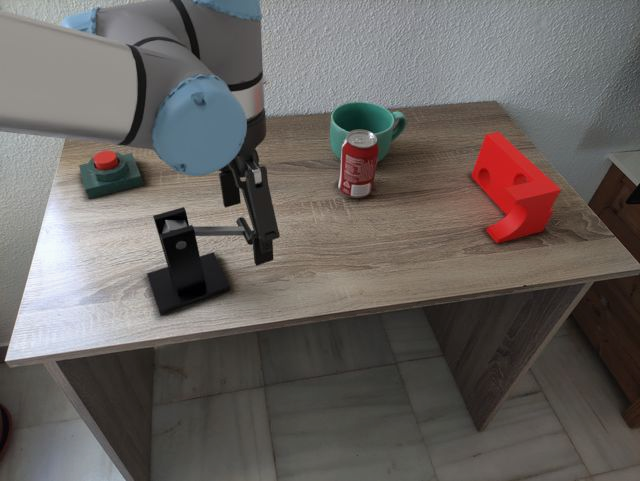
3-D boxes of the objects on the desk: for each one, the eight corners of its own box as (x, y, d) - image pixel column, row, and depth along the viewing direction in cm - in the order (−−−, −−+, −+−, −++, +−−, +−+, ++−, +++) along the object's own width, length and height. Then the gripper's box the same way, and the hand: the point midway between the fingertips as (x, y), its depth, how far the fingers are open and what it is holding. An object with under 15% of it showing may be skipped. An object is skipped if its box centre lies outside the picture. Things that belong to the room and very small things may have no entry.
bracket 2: (566, 188, 79) (516, 200, 76) (542, 231, 87) (496, 243, 84) (502, 130, 91) (458, 139, 88) (486, 173, 98) (444, 182, 95)
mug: (339, 178, 94) (343, 139, 88) (320, 143, 103) (323, 104, 96) (413, 166, 98) (423, 127, 92) (390, 133, 107) (397, 95, 100)
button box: (88, 198, 87) (81, 181, 84) (82, 174, 92) (75, 157, 89) (143, 184, 91) (138, 168, 88) (134, 161, 95) (129, 145, 92)
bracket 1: (214, 256, 79) (203, 194, 69) (230, 291, 74) (221, 229, 64) (148, 278, 75) (126, 215, 65) (160, 315, 70) (138, 254, 60)
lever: (242, 226, 75) (246, 214, 73) (254, 247, 72) (258, 235, 70) (159, 226, 67) (162, 213, 66) (168, 250, 64) (172, 236, 63)
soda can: (373, 201, 90) (381, 150, 81) (338, 200, 90) (343, 148, 81) (371, 179, 95) (379, 128, 86) (337, 177, 95) (342, 126, 86)
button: (98, 173, 87) (95, 165, 85) (94, 161, 89) (91, 153, 88) (120, 167, 88) (118, 160, 87) (116, 156, 91) (113, 148, 89)
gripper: (306, 157, 51) (304, 280, 66) (229, 59, 66) (241, 178, 81) (241, 175, 48) (254, 298, 64) (176, 69, 63) (199, 189, 79)
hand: (247, 231), depth 72 cm, fingers open, 13 cm apart
